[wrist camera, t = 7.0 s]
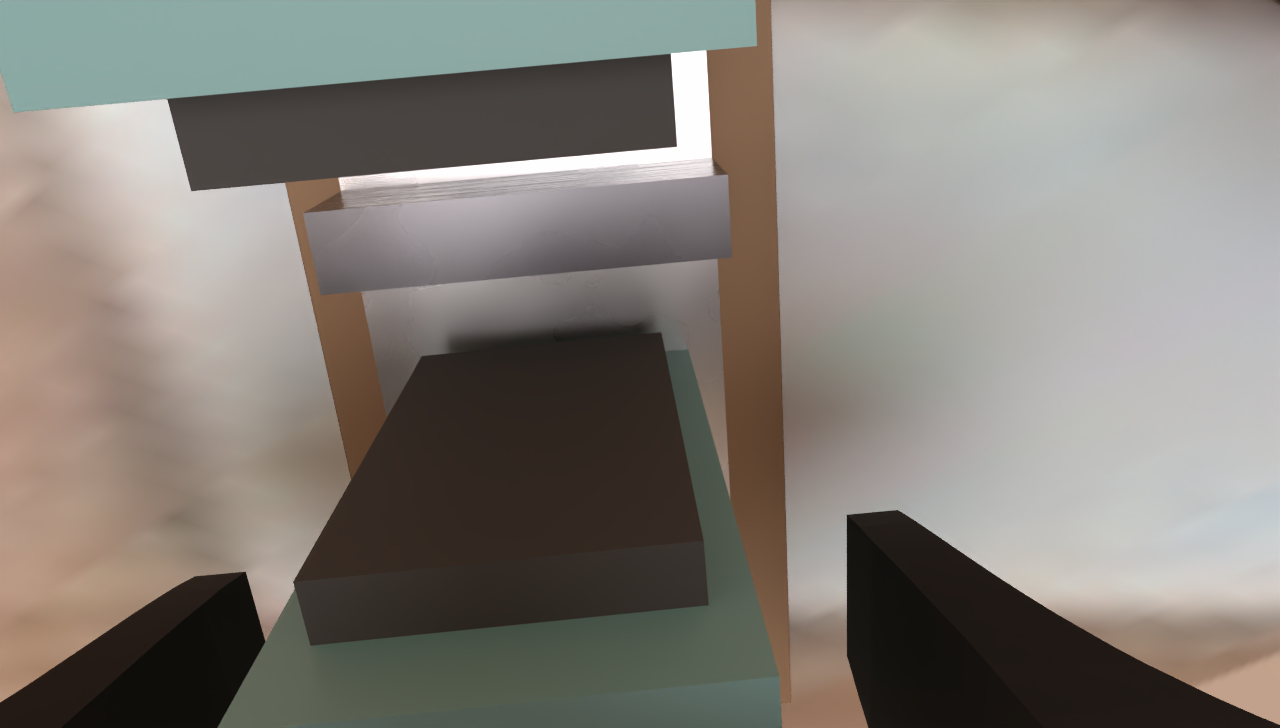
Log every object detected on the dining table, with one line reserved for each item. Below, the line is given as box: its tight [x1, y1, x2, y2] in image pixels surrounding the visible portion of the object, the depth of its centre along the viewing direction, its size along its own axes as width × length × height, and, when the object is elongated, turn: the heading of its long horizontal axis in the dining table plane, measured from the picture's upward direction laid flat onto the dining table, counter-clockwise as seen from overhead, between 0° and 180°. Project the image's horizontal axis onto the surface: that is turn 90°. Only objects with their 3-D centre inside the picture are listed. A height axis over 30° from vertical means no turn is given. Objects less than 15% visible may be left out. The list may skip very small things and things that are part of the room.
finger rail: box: [0, 0, 791, 703], centre depth 10 cm, size 7×16×9 cm, turn 5°
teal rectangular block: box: [218, 332, 782, 728], centre depth 10 cm, size 5×4×7 cm
